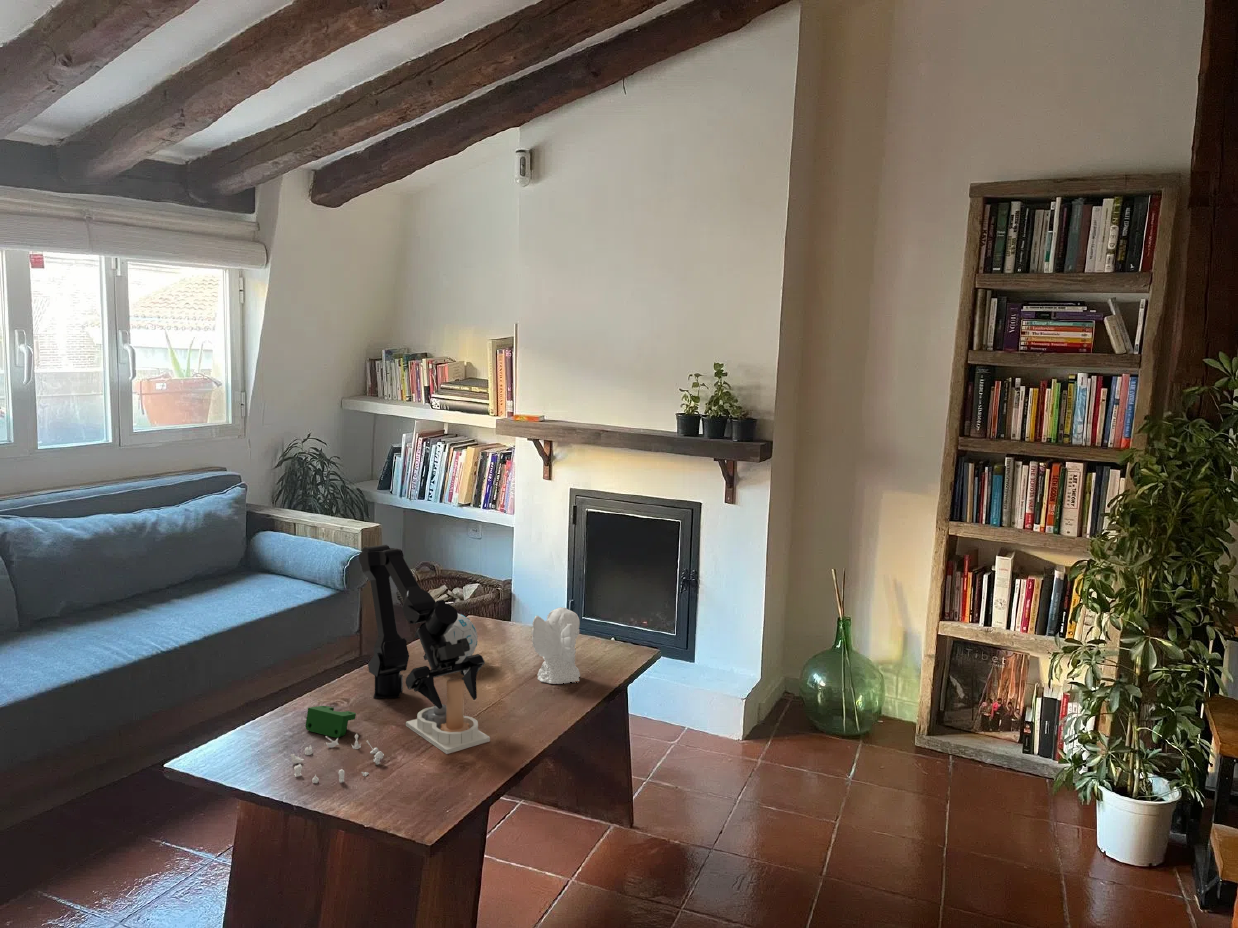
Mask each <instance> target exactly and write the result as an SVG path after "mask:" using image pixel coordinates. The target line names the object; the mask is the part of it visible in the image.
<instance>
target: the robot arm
mask: <svg viewBox="0 0 1238 928" xmlns="http://www.w3.org/2000/svg"><path fill="white" fill-rule="evenodd" d="M358 560H359V564H360V566H361V571H362V573H363V575H365V576H366V578H367V579H368V580H369V582H370V587H371V594H372V595H371V596H372V601H373V607H374V613H375V622H376V628H377V629H376V630H377V635H378V637H377V639H376V642H375V644H374V646H373V656H372V657H371V659H370V660H369V662H368V663H367V668H368V672H369V673H370V674H371V675H373V676H374V693H373V696H372V697H373V699H395V698H396V699H398V698H400V695H401V694H402V692H403V688H404V687H403V683H404V682H403V681H404V680H403V677H404V676H403V674H401V672H404V671H407V667H408V664H409V659H410V653H409V651H408V643H407V642H408V641H407V640H406V638H405V637H404V638H403V637H402V636H401V635H400V634H399V633H398V628H397V627H398V626H397V621H396V614H395V608H394V606H395V605H394V600H393V594H392V587H391V581H390V580H392V581H393V583H394V585H395V588H397V591H398V592H399V595H400V596H401V599H402V600H403V602H402V607H401V609H402V611H403V616H404V618H405V619H406V622H408V623H409V624H410V625H414V624H415V625H416V624H420V626H417V627H416V631H415V633H414V639H416V640H417V639H419V642H420V644H421V647H422V649H423V652H424V653H425V654H424V655H423V659H424V661H427V662H428V665H429V666H428V665H424V666H419V667H415V668H414V667H413V668H412V670H411V671H410V672H409V673H408V675H407V676H406V678H405V686H406V687H407V689H408V690H413V691H414V693H415V692H418V693H420V694H421V695H422V696H423V697H424V698H427V700H428V701H429V702H431V703H432V704H433V706H437V707H438V708H439V709H441V708H442V704H443V703H442V700H441V698H440V696H439V694H438V691H437V689H436V687H435V681H434V678H438V677H442V676H447V675H451V674H456V673H459V672H460V674H461V675H462V678H461V679H462V680H464V686H465V687H466V689H467V691H468V692H469V695H470V697H471V699H472V700H473V701H475V700H477V697H478V696H477V695H478V692H477V676H478V672H479V671H480V670H481V669H482V667H483V666H484V665H485V664H486V662H485V660H484V657H483V656H482V654H479V653H475V654H472V655H471V656H467V657H466V658H465V659H464V660H463V662H462V663H458V664H456V663H455V662H456V661H458V660H459V656H465V652H467V651H469V650H470V646H469V642H468V640H467V639H466V638H463V639H460V640H457V644H451V642H450V641H448V642H447V641H446V639H445V636H444V635H445V634H446V633H447V632H448V631H449V630H450V628H451V627H452V626H453V624H454V623H455V622H456V620H457V618H458V614H459V613H458V609H456V608H455V607H454V606H452V605H451V604H448V603H447V602H446V601H445V599H439V600H435V599H434V598H433V597H434V596H432V595H431V593H430V592H428V591H426V590H425V589H423V588H421V586H420V584H419V583H418V581H417V580H416V578H415V576H414V574H413V572H412V571H411V568H410V567H409V565H408V563H407V561H406V560H405V558H404V552H403V550H402V549H401V548H395V547H390V546H389V545H388V544H381V545H373V546H365V547H363V548H362V550H361V551H360V552H359V554H358ZM390 578H391V579H390Z"/></svg>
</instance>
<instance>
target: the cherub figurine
mask: <svg viewBox="0 0 1238 928" xmlns="http://www.w3.org/2000/svg"><path fill="white" fill-rule="evenodd" d="M580 625H581V622H580V618H579V616H578V614H577V613H576V612H574V611H573V610H570V609H568V608H567V607H563V606H562V607H561V606H560V607H557V608H555V609H552V610H551V611H549V613H548V614H547V616H546V620H544V619H543V618H542V617H540V616H539V615H535V617H534V618H533V621H532V629H531V635H532V638H531V642H532V644H531V645H532V647H533V648H534V649H533V650H534V652H535V653H536V654H537V655H538V656H539V657H542V659H543V660H544V661H543V662H542V664H541V667H540V668H539V670H538V672H537V675H536V676H537V680H538V681H539V682H541V683H547V684H554V685H556V684H557V685H561V684H563V683H564V684H571V683H570V682H572V683H576V682H575V681H579V682H580V678H581V673H580V669H579V668H578V667H577V666H576V652H577V650H576V648H575V647H576V645H577V642H576V639H578V637H579V635H580ZM579 677H580V678H579Z"/></svg>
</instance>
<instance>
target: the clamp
mask: <svg viewBox="0 0 1238 928" xmlns="http://www.w3.org/2000/svg"><path fill="white" fill-rule="evenodd" d="M334 709H335V707H332V706H327V705H317V706H312V707H311V706H310V707H307V713H306V720H305V729H306V731H308V732H312V733H317V734H319V735H324V736H327V737H331V738H336V739H337V738H340V737H344V736H345V735H346V733H347V729H348V723H349V721H353V720H355V719H356V716H357V713H356V712H354V711H349V710H348V711H336V710H334Z"/></svg>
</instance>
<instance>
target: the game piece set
mask: <svg viewBox="0 0 1238 928" xmlns="http://www.w3.org/2000/svg"><path fill="white" fill-rule="evenodd" d="M324 736H325V738H326V739H327V740H329V742H325V744H326V746H327V747H328V748H332V749H333V748H335V747H336V746H340V744H339V742H338V741H339V737H337V738H336V739H335V740H333V739H331V738H330V737H329V736H327V735H324ZM354 738H355V742H354V745H353V744H352V743H350V744H351V746H352V747H351V748H352V749H353V750H358V749H361V748H362V746H361V744H362V743H359V741H358V738H359V735H358V733H356V734H355V735H354ZM366 743H367V744H368V746H370V748H371V751H370V752H369V753H370V755H373V763H375V765H376V766H377V765H380V761H381V760H382V759H383V758H384V755H385V754H384V753H383V752H382V751H381V750H379V748H378V747H374V748H373V746H372V745H371V743H370V741H369V740H366ZM313 753H314V752H313V748H312V745H311V744H309V746H307V747H305V749H304V754H305V756H310V755H312V754H313ZM289 757H291V762H292V763H294V765H295V766H294V767H293V769H294V774H293V776H294V775H295V776H294V777H295V778H297V777H301V776H302V773H301V771H302V769H303V766H302V764H301V763H302V762H303V761H305V759H304V758H302V757H299V756H296V754H295V753H292V754H290V755H289ZM296 764H298V765H296ZM337 774H338V775H339V777H338V780H339V781H338V782H339V783H340V784H342V783H345V770H344V769H342V768H341V769H339V770H338V773H337ZM369 774H370V773H369V772H367V771H365V772H364V771H361V775H362V776H363V777H367V776H368V775H369ZM311 781H312V784H318V783H319V777H318V776H317V774H315V775H314V777H312V779H311Z"/></svg>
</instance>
